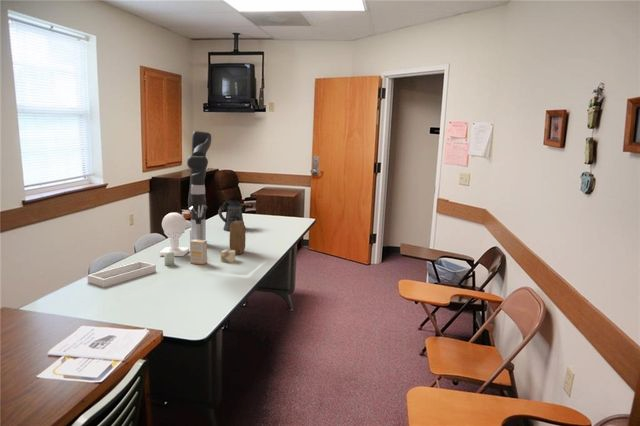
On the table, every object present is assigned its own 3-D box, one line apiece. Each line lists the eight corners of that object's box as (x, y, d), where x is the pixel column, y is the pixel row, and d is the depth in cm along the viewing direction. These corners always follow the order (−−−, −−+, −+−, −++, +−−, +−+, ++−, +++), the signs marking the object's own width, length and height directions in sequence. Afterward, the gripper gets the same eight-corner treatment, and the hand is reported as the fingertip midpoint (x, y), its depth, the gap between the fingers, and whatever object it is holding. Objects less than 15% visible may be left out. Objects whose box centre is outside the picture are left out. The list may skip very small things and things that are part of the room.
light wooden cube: (221, 261, 236) (221, 251, 235) (225, 259, 242) (225, 249, 241) (230, 262, 235) (230, 252, 234) (235, 260, 240) (235, 250, 239)
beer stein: (249, 231, 317) (250, 199, 313) (231, 236, 301) (231, 202, 297) (234, 228, 326) (234, 197, 322) (215, 232, 310) (215, 199, 306)
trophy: (166, 250, 256) (165, 210, 252) (189, 250, 257) (188, 211, 253) (159, 256, 242) (158, 214, 238) (183, 256, 243) (182, 214, 239)
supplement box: (207, 263, 232) (207, 240, 230) (202, 265, 228) (202, 242, 226) (195, 261, 235) (195, 238, 233) (190, 263, 231) (189, 240, 228)
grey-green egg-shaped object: (162, 264, 226) (162, 252, 225) (169, 262, 230) (169, 250, 229) (169, 266, 224) (168, 253, 223) (176, 264, 228) (176, 251, 227)
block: (239, 255, 250) (239, 223, 247) (228, 254, 252) (228, 222, 249) (247, 251, 260) (247, 220, 257) (236, 250, 262) (236, 219, 259)
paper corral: (87, 282, 195) (87, 275, 194) (140, 267, 220) (140, 261, 219) (103, 287, 189) (103, 279, 188) (155, 271, 214) (155, 264, 214)
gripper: (201, 191, 232) (201, 221, 235) (183, 193, 221) (184, 224, 224) (211, 192, 229) (211, 223, 232) (194, 194, 217) (194, 226, 220)
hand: (198, 223), depth 228 cm, fingers closed
